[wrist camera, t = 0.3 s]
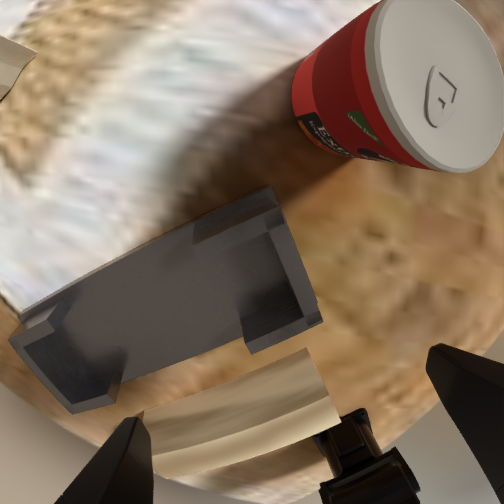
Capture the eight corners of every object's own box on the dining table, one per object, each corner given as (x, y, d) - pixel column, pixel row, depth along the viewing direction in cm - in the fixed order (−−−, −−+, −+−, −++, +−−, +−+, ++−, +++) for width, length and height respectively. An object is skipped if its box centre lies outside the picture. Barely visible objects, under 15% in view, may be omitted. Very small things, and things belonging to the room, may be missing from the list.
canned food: (278, 143, 19) (359, 143, 8) (296, 33, 16) (377, -47, 6) (379, 167, 20) (498, 196, 10) (393, 67, 18) (507, 40, 7)
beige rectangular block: (318, 375, 26) (341, 422, 20) (168, 431, 26) (165, 479, 21) (305, 346, 25) (329, 395, 19) (144, 408, 25) (137, 458, 19)
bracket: (313, 296, 23) (332, 324, 19) (83, 388, 23) (72, 419, 19) (268, 184, 19) (283, 193, 16) (22, 310, 20) (0, 336, 16)
